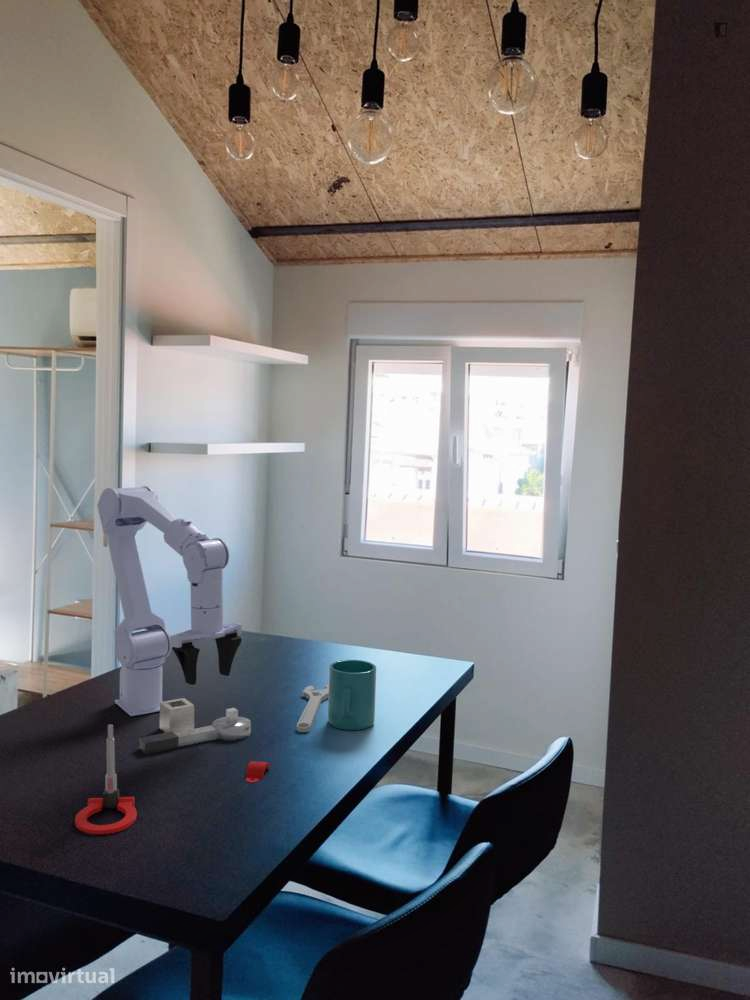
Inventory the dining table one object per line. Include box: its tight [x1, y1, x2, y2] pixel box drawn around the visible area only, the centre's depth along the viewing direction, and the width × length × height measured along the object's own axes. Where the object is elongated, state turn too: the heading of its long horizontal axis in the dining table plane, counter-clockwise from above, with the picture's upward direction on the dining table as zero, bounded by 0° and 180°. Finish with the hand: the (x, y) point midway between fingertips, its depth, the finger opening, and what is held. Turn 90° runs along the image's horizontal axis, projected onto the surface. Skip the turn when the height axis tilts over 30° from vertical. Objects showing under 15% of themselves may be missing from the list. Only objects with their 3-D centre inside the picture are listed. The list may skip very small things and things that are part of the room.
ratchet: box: [138, 707, 252, 755], centre depth 153 cm, size 7×20×4 cm, turn 126°
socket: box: [159, 697, 195, 733], centre depth 157 cm, size 5×5×5 cm
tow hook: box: [74, 723, 138, 835], centre depth 122 cm, size 8×13×9 cm
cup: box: [327, 659, 377, 731], centre depth 162 cm, size 9×12×11 cm
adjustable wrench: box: [296, 684, 329, 733], centre depth 171 cm, size 25×6×2 cm, turn 171°
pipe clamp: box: [245, 760, 271, 784], centre depth 140 cm, size 8×3×2 cm, turn 170°
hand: (207, 679), depth 155 cm, fingers open, 7 cm apart
